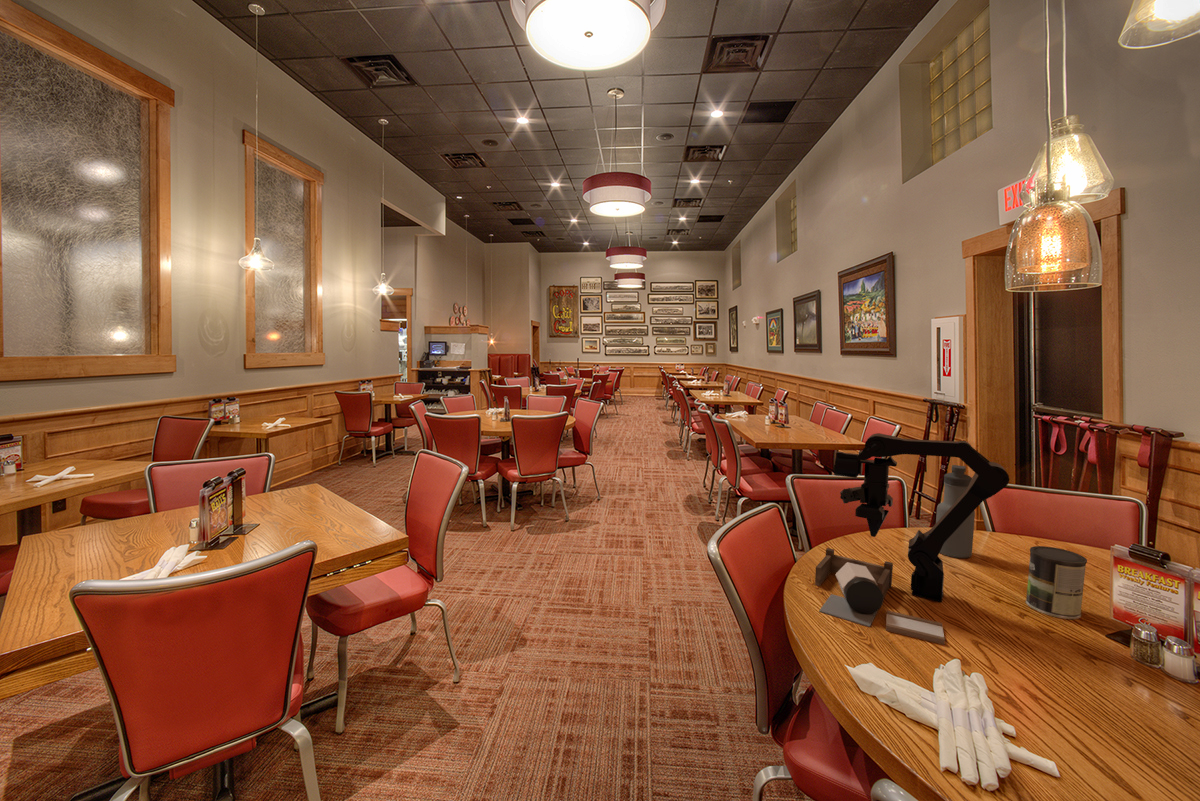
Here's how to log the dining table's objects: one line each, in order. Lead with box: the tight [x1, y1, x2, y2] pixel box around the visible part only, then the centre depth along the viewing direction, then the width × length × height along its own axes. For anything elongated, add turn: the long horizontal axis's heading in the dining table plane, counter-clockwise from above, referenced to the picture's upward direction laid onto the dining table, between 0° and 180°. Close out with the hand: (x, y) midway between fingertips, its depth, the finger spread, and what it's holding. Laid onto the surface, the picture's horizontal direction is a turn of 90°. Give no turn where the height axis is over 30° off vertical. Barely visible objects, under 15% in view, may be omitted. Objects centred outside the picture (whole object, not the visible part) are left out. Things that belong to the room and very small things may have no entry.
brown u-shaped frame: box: [814, 547, 894, 600], centre depth 135 cm, size 17×13×6 cm
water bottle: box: [935, 464, 976, 559], centre depth 157 cm, size 10×10×28 cm
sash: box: [885, 609, 946, 646], centre depth 113 cm, size 11×8×1 cm
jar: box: [834, 562, 884, 614], centre depth 124 cm, size 9×8×12 cm
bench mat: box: [819, 594, 879, 628], centre depth 122 cm, size 11×11×1 cm
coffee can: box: [1025, 545, 1088, 620], centre depth 122 cm, size 10×10×14 cm
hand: (873, 536), depth 136 cm, fingers closed
